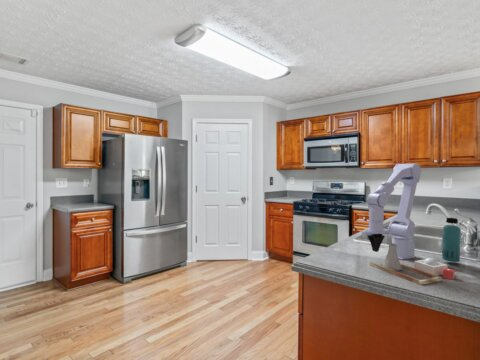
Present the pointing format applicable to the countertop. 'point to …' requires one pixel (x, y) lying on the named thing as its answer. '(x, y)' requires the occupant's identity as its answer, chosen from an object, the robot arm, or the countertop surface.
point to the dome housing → (430, 267)
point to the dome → (430, 262)
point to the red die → (448, 273)
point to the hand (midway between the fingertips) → (375, 251)
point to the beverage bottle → (451, 241)
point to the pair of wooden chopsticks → (432, 277)
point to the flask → (392, 259)
